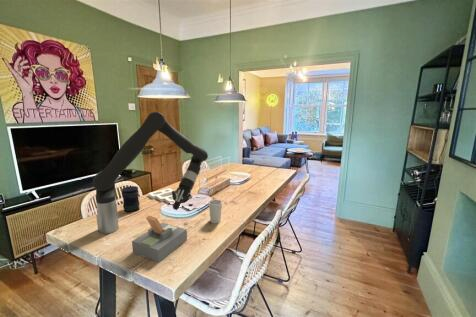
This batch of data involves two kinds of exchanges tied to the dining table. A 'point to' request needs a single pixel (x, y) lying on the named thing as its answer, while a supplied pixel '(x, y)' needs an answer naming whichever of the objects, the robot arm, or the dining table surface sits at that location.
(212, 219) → the cup
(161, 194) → the holder
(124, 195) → the storage jar
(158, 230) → the handle
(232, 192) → the dining table surface
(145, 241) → the box
